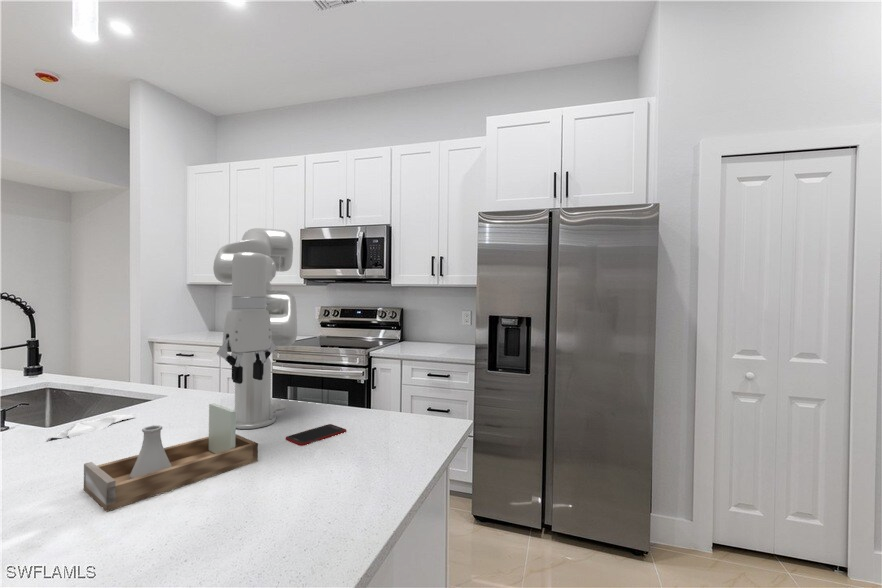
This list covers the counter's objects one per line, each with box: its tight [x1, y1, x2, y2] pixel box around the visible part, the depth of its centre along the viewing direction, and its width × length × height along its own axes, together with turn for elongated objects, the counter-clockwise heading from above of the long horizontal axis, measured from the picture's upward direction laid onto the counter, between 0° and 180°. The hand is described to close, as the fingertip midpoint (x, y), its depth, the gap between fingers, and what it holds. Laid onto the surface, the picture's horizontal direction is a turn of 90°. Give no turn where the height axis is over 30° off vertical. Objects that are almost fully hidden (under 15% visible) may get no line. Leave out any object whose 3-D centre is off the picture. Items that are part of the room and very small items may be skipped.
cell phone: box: [285, 423, 347, 447], centre depth 113 cm, size 8×15×1 cm, turn 142°
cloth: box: [43, 412, 141, 444], centre depth 117 cm, size 26×14×2 cm, turn 155°
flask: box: [128, 424, 172, 480], centre depth 85 cm, size 7×7×10 cm
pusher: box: [208, 402, 237, 454], centre depth 96 cm, size 1×10×11 cm, turn 54°
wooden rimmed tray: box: [83, 433, 259, 512], centre depth 88 cm, size 28×13×5 cm, turn 144°
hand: (247, 380), depth 100 cm, fingers open, 4 cm apart
